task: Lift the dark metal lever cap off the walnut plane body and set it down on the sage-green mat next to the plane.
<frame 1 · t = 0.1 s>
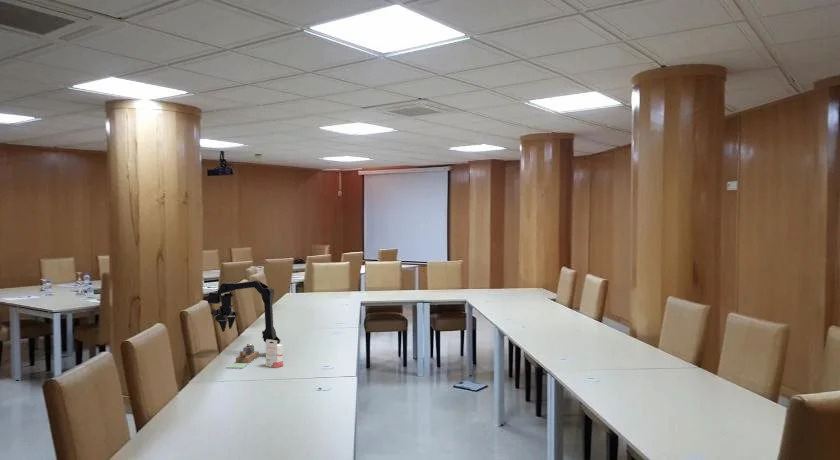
hand: (226, 330, 337), 15 cm above the table, tool pointing down, fingers open, 9 cm apart
lever cap: (248, 353, 326), point 3 cm above the table, touching plane body
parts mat: (237, 366, 310), on the table
plane body: (247, 360, 324), on the table
ink cartridge box: (274, 366, 310), on the table
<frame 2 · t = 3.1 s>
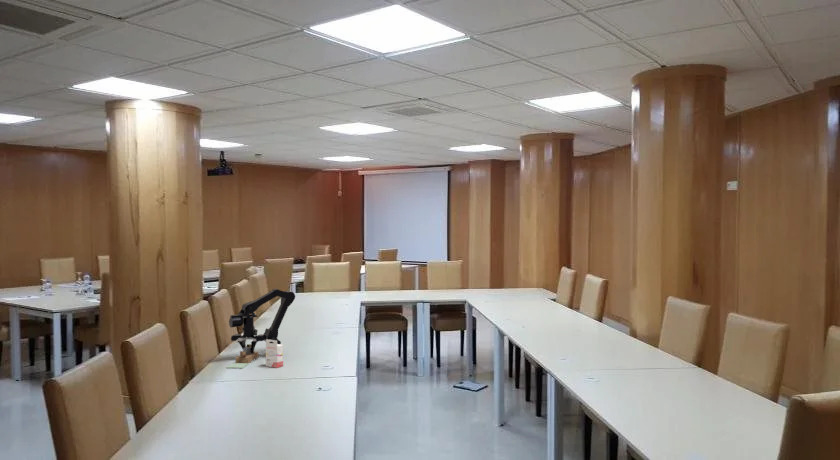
hand: (248, 352, 326), 4 cm above the table, tool pointing down, fingers closed on lever cap, 4 cm apart
lever cap: (248, 353, 326), point 3 cm above the table, touching gripper, plane body
everything else where it was.
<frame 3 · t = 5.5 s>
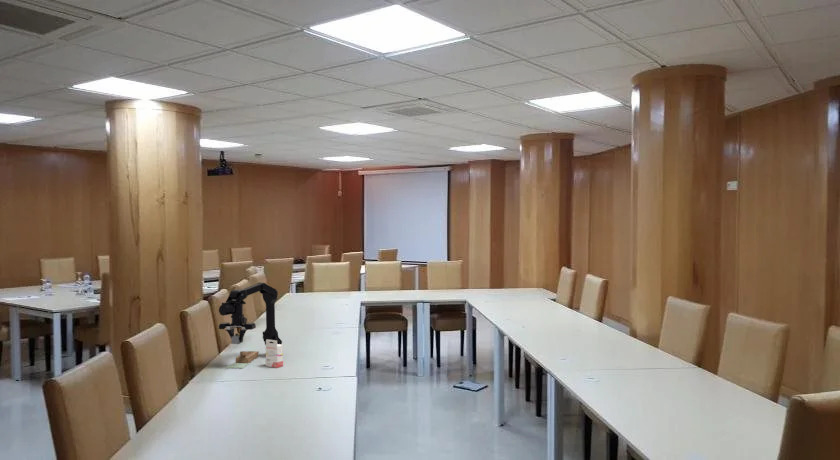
hand: (237, 341, 310), 13 cm above the table, tool pointing down, fingers closed on lever cap, 4 cm apart
lever cap: (237, 342, 310), point 13 cm above the table, touching gripper
everything else where it was.
when the fingers open (3 cm above the table, at t = 8.2 s): lever cap drops 2 cm, resting on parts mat.
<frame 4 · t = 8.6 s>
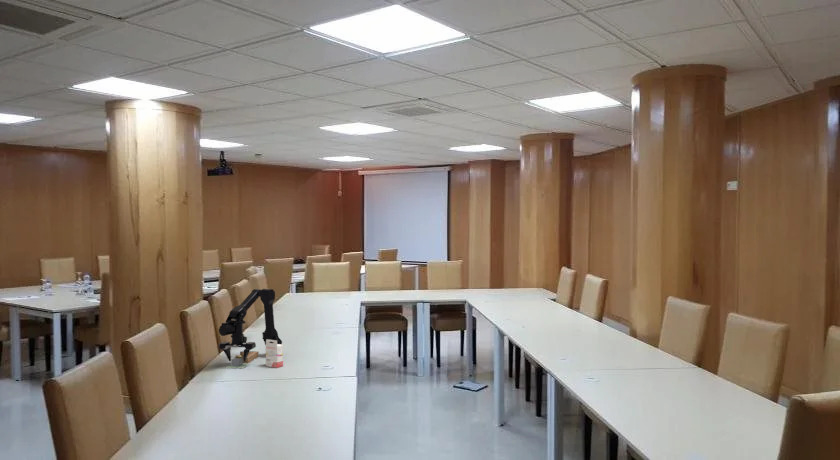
hand: (237, 361, 310), 3 cm above the table, tool pointing down, fingers open, 8 cm apart
lever cap: (237, 365, 310), point 1 cm above the table, touching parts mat
everything else where it was.
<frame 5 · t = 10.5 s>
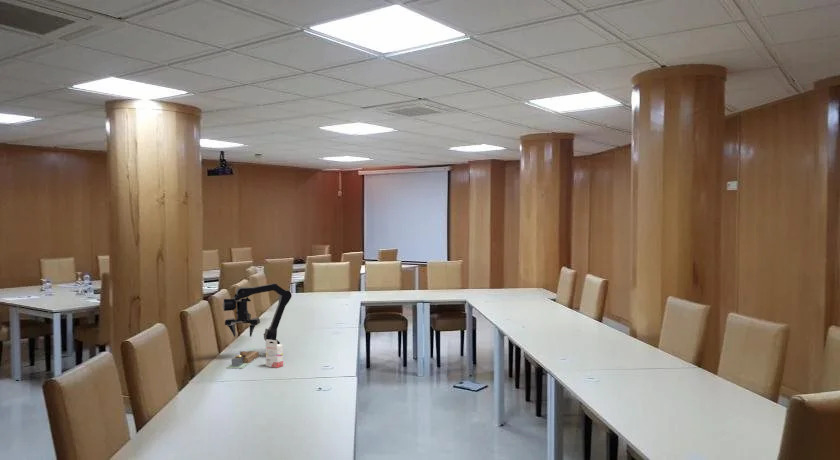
hand: (242, 336, 327), 13 cm above the table, tool pointing down, fingers open, 9 cm apart
nothing on the table moved.
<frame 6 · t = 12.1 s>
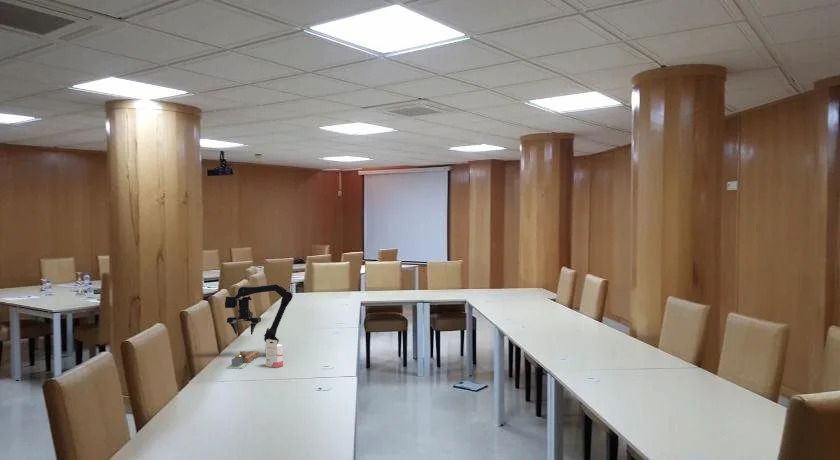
hand: (244, 334, 332), 13 cm above the table, tool pointing down, fingers open, 9 cm apart
nothing on the table moved.
at the end: lever cap inside the target area on the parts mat (0.0 cm from its centre), point 0.6 cm above the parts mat's base; lever cap tilted 0°; the gripper is holding nothing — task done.
